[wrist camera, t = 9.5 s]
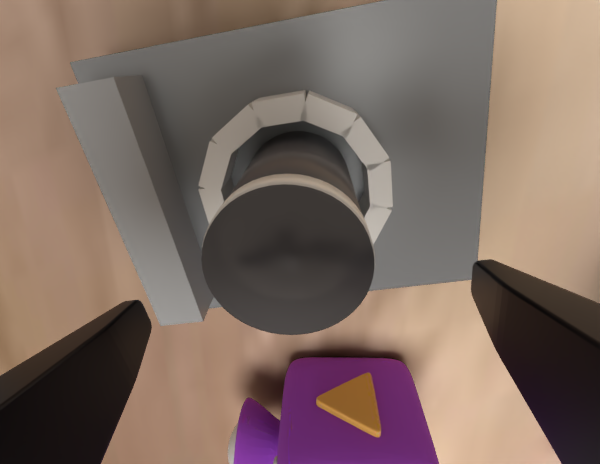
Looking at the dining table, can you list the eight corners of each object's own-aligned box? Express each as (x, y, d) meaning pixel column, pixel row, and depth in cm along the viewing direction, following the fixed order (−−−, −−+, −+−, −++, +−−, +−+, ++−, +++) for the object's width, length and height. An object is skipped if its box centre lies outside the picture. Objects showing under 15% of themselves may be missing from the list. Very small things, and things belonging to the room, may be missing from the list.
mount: (467, -8, 16) (534, -39, 11) (456, 252, 22) (496, 306, 17) (106, 62, 18) (28, 62, 13) (188, 284, 24) (156, 340, 19)
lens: (344, 121, 16) (369, 171, 9) (354, 221, 18) (381, 327, 11) (237, 139, 16) (175, 199, 9) (259, 234, 18) (225, 342, 11)
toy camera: (226, 355, 27) (182, 502, 18) (403, 331, 25) (453, 481, 16) (262, 440, 31) (242, 591, 22) (414, 425, 30) (457, 582, 21)
